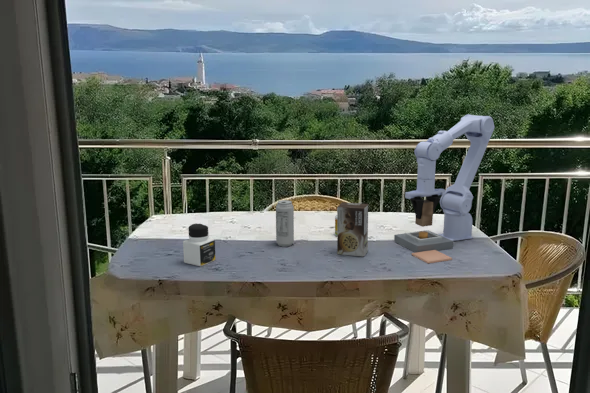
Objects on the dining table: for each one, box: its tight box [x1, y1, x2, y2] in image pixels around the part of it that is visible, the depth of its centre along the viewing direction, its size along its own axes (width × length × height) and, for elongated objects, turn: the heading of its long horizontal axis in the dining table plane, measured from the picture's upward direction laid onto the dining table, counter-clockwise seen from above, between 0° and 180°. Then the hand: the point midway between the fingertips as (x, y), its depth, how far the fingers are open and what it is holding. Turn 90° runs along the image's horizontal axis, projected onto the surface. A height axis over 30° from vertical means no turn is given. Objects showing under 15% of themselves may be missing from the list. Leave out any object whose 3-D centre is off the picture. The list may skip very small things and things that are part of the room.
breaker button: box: [418, 230, 428, 239], centre depth 193 cm, size 3×3×2 cm
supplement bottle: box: [334, 214, 337, 237], centre depth 205 cm, size 5×5×10 cm
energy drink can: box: [275, 199, 295, 248], centre depth 194 cm, size 6×6×15 cm
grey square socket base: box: [393, 229, 454, 253], centre depth 194 cm, size 14×14×4 cm
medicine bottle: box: [182, 222, 216, 267], centre depth 177 cm, size 7×7×12 cm
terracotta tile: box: [411, 250, 453, 264], centre depth 181 cm, size 9×9×1 cm
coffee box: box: [336, 202, 369, 257], centre depth 184 cm, size 9×6×16 cm
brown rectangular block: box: [414, 199, 434, 228], centre depth 192 cm, size 4×4×8 cm
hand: (424, 217), depth 192 cm, fingers closed on brown rectangular block, 4 cm apart
